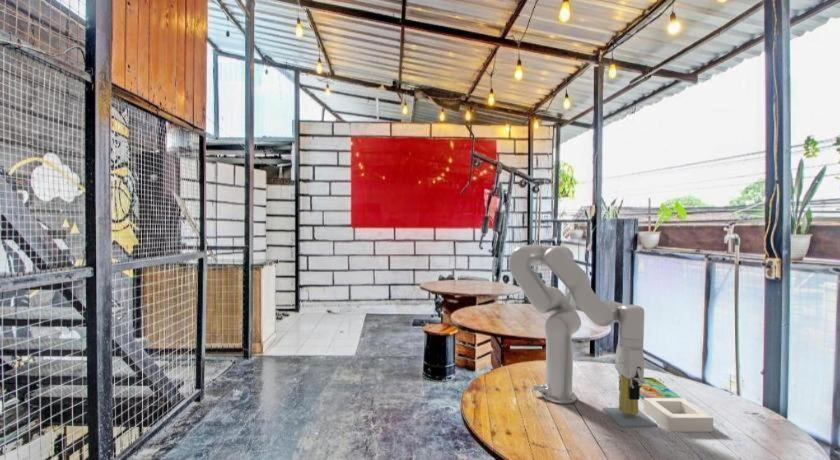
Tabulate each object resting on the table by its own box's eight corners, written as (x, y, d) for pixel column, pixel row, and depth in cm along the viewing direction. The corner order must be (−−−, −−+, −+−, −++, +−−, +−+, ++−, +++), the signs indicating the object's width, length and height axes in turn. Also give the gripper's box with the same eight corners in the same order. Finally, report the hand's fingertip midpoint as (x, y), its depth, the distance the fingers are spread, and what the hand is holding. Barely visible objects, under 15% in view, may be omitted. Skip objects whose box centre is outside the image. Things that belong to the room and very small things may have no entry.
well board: (669, 431, 125) (670, 417, 125) (643, 410, 139) (643, 397, 139) (712, 431, 126) (713, 417, 126) (682, 410, 140) (682, 398, 140)
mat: (621, 426, 128) (621, 425, 128) (602, 409, 140) (602, 407, 140) (657, 426, 128) (657, 425, 128) (636, 409, 140) (636, 407, 140)
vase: (636, 408, 136) (638, 367, 136) (640, 416, 130) (641, 373, 130) (617, 405, 138) (618, 364, 138) (619, 413, 132) (621, 370, 132)
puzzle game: (649, 396, 141) (624, 374, 161) (649, 409, 141) (623, 385, 161) (684, 397, 141) (653, 375, 160) (683, 410, 141) (653, 387, 161)
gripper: (606, 334, 142) (605, 384, 142) (634, 350, 125) (632, 407, 125) (627, 334, 142) (625, 384, 143) (657, 350, 125) (655, 407, 126)
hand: (629, 394), depth 134 cm, fingers closed on vase, 5 cm apart
